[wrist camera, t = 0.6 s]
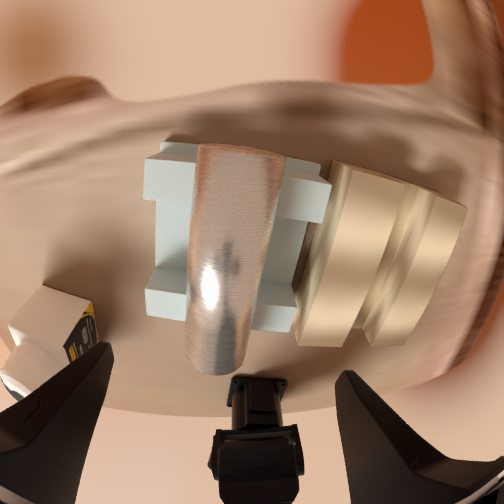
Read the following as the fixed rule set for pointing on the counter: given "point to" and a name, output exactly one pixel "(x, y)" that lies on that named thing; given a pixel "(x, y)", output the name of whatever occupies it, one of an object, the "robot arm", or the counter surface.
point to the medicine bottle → (47, 339)
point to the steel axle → (227, 250)
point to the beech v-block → (374, 258)
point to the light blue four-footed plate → (178, 222)
